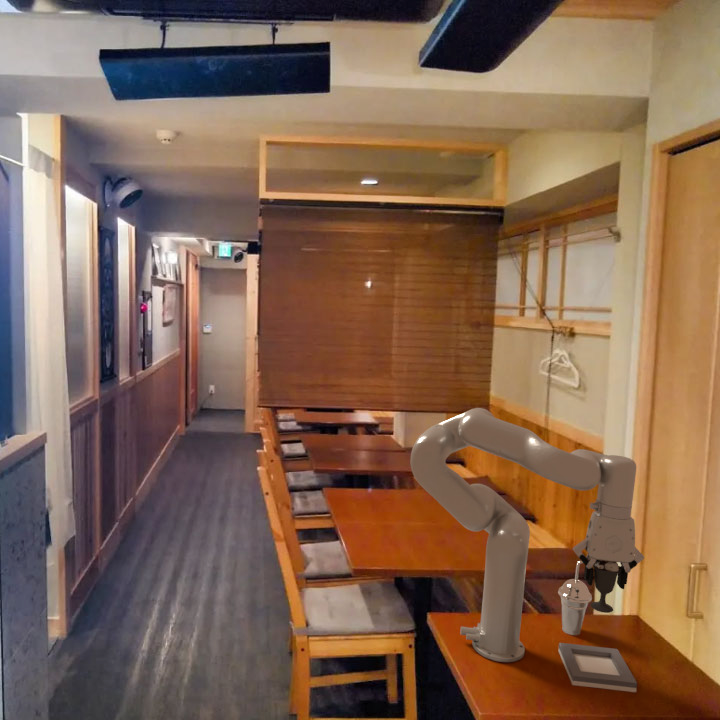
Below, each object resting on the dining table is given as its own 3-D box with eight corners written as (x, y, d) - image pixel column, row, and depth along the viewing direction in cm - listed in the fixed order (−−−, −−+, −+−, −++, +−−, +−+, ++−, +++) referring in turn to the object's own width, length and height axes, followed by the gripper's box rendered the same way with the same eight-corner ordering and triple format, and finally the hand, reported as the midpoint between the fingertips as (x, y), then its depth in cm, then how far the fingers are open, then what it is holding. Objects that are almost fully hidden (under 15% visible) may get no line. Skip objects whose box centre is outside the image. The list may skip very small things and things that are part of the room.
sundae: (620, 616, 144) (627, 553, 142) (589, 612, 145) (595, 548, 144) (614, 603, 150) (621, 542, 149) (584, 599, 151) (591, 538, 150)
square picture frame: (572, 684, 143) (573, 675, 142) (558, 651, 157) (559, 642, 156) (636, 692, 142) (637, 683, 141) (616, 657, 155) (617, 649, 155)
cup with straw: (555, 619, 173) (562, 548, 171) (590, 627, 169) (598, 555, 167) (553, 634, 165) (560, 560, 163) (589, 643, 161) (598, 567, 159)
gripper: (579, 511, 142) (570, 587, 144) (658, 519, 141) (648, 596, 143) (570, 501, 150) (562, 573, 151) (646, 508, 148) (637, 581, 150)
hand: (604, 584), depth 147 cm, fingers closed on sundae, 6 cm apart
